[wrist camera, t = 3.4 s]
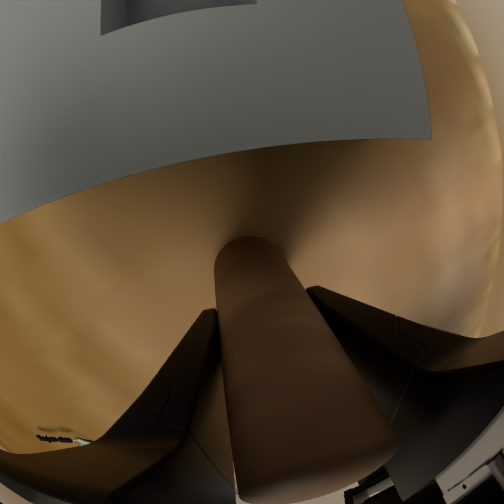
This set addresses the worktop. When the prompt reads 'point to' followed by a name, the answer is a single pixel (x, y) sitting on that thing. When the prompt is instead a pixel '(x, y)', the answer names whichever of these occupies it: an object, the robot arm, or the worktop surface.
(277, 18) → the hole block
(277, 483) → the dowel
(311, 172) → the worktop surface
